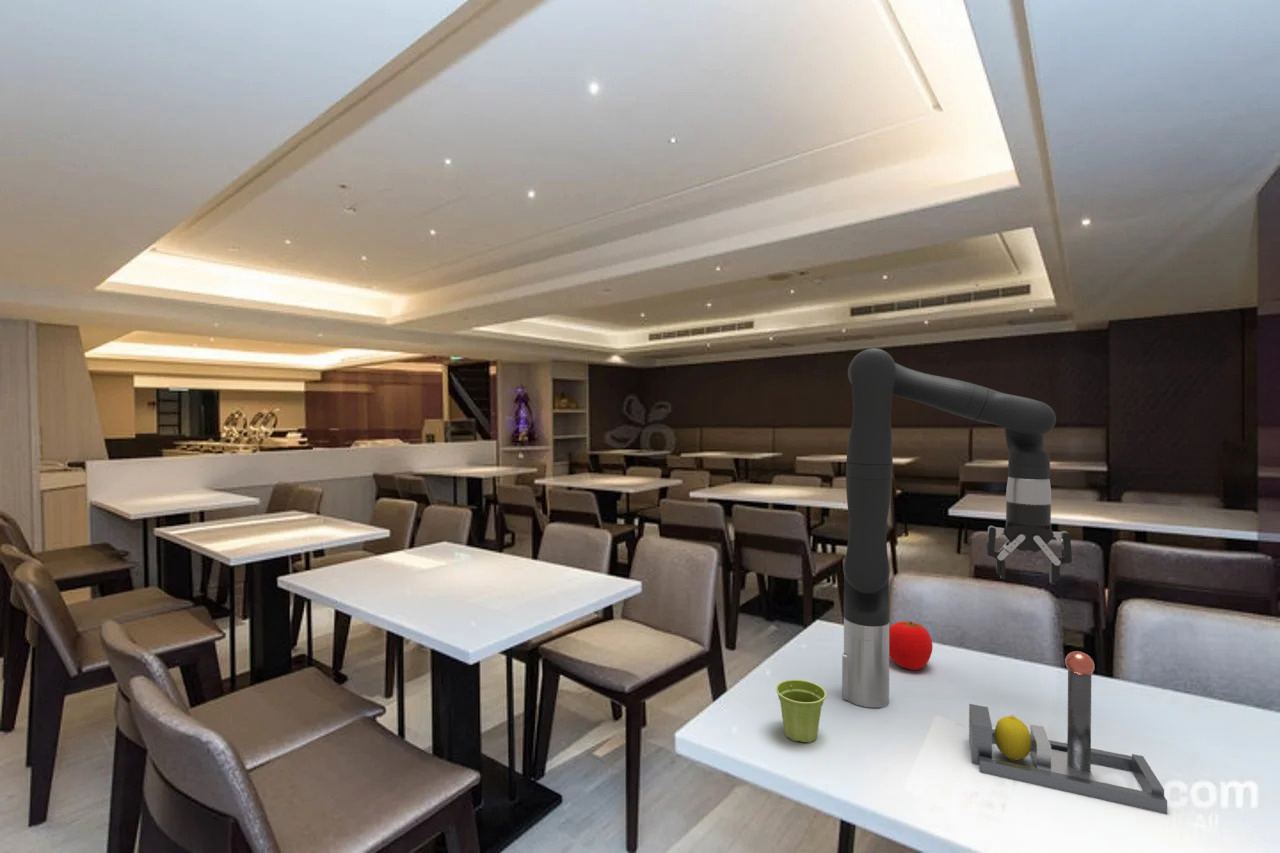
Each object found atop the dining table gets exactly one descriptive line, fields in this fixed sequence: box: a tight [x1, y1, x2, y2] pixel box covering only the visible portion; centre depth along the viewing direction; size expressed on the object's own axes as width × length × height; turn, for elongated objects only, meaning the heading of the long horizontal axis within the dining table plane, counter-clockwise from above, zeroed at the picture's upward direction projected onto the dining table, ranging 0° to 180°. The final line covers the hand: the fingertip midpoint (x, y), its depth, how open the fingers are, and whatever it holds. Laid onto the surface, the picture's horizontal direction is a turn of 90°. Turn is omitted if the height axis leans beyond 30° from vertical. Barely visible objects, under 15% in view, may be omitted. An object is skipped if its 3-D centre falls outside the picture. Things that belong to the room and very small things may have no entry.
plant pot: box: [775, 679, 827, 743], centre depth 113 cm, size 9×9×9 cm
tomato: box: [889, 620, 934, 671], centre depth 144 cm, size 10×11×11 cm
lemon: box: [994, 715, 1031, 762], centre depth 105 cm, size 6×6×8 cm
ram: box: [1029, 650, 1096, 781], centre depth 101 cm, size 8×8×21 cm
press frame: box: [968, 703, 1168, 814], centre depth 102 cm, size 26×13×7 cm, turn 64°
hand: (1027, 580), depth 119 cm, fingers open, 8 cm apart
